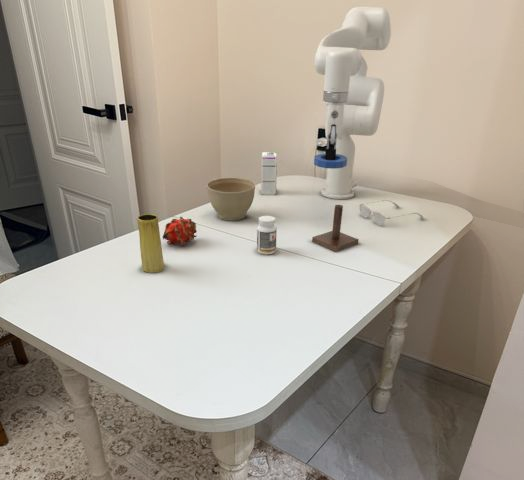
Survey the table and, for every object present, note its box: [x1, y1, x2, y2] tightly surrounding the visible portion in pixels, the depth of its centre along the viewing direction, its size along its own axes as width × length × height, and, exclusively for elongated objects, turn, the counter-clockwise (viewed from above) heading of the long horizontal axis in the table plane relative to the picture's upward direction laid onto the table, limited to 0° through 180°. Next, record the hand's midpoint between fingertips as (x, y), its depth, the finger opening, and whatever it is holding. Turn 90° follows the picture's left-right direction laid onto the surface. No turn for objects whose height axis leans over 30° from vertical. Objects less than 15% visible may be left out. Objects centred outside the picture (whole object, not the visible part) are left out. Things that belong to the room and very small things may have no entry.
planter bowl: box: [206, 177, 256, 221], centre depth 167 cm, size 16×16×11 cm
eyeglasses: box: [358, 199, 425, 226], centre depth 171 cm, size 15×18×4 cm
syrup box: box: [260, 151, 278, 196], centre depth 189 cm, size 6×6×14 cm
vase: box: [136, 213, 166, 274], centre depth 131 cm, size 6×6×14 cm
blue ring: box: [313, 152, 347, 169], centre depth 157 cm, size 10×10×2 cm
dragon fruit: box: [162, 216, 198, 247], centre depth 147 cm, size 8×8×12 cm
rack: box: [311, 204, 359, 253], centre depth 149 cm, size 10×10×12 cm
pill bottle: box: [256, 215, 277, 255], centre depth 143 cm, size 6×6×10 cm
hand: (329, 160), depth 160 cm, fingers closed on blue ring, 2 cm apart
